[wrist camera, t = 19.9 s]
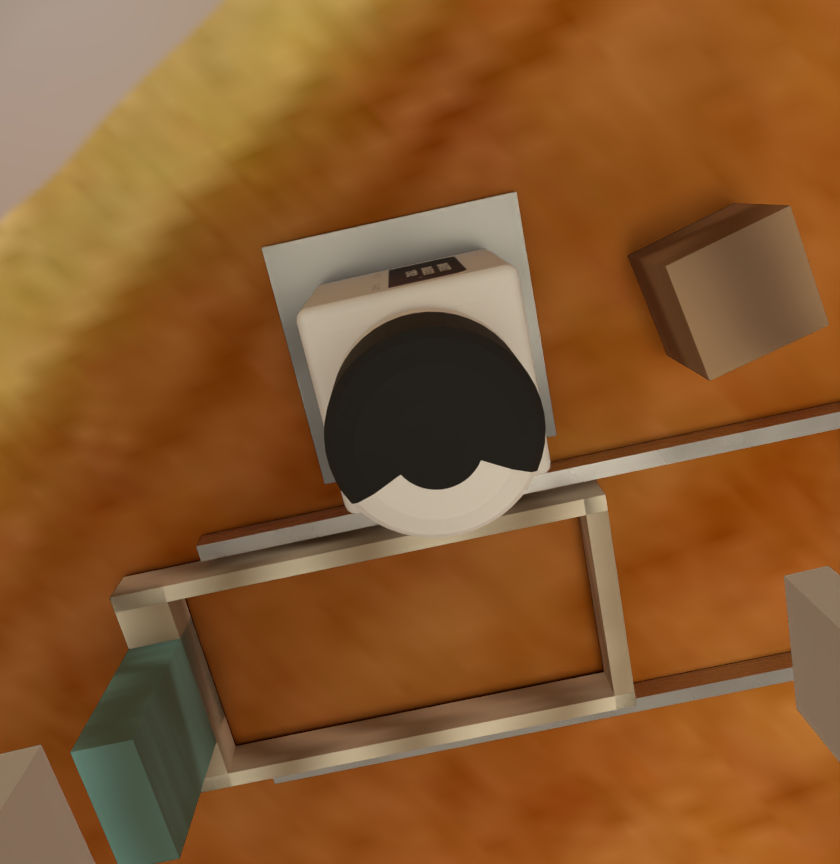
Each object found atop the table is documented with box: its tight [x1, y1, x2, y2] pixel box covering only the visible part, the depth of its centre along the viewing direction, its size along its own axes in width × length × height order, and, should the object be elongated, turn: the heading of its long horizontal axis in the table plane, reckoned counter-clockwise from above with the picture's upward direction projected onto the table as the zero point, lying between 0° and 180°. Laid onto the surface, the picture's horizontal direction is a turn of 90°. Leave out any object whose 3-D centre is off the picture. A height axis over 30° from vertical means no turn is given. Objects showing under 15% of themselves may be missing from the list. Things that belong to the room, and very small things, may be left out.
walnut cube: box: [628, 203, 829, 381], centre depth 32 cm, size 5×5×5 cm
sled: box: [70, 480, 637, 864], centre depth 35 cm, size 23×12×9 cm, turn 102°
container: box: [297, 249, 551, 538], centre depth 28 cm, size 8×8×13 cm
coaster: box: [262, 192, 556, 484], centre depth 34 cm, size 11×11×1 cm
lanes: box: [196, 402, 840, 784], centre depth 38 cm, size 32×14×1 cm, turn 102°
